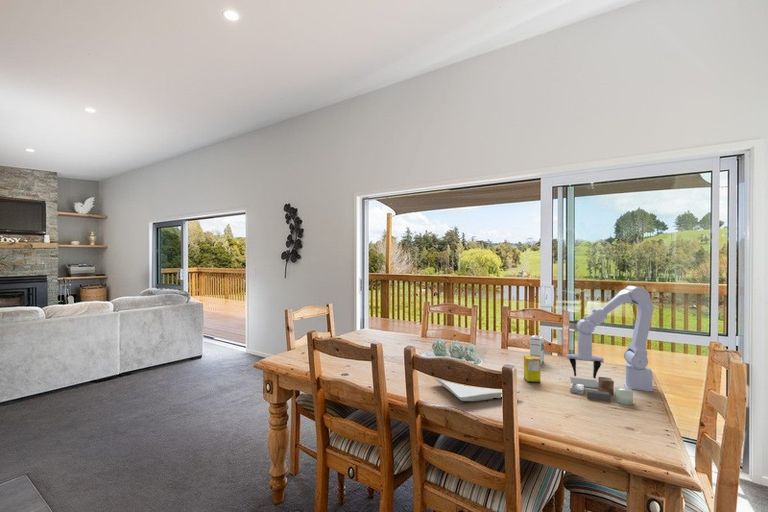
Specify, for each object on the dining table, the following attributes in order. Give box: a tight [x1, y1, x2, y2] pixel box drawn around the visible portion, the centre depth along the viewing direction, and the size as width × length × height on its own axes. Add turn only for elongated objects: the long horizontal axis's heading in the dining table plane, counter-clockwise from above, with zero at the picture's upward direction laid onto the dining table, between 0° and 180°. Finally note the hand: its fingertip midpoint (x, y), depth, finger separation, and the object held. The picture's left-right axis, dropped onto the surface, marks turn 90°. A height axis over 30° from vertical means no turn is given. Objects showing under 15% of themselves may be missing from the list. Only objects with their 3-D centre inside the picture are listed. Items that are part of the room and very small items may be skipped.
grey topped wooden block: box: [569, 382, 585, 395], centre depth 159 cm, size 7×5×2 cm
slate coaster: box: [569, 376, 598, 390], centre depth 168 cm, size 11×11×1 cm
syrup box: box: [529, 335, 545, 366], centre depth 199 cm, size 6×6×14 cm
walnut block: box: [597, 376, 615, 396], centre depth 157 cm, size 4×4×6 cm
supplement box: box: [523, 355, 542, 384], centre depth 172 cm, size 6×6×11 cm
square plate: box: [434, 378, 520, 402], centre depth 160 cm, size 27×27×4 cm
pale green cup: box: [614, 386, 634, 406], centre depth 148 cm, size 6×6×5 cm
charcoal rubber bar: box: [585, 388, 611, 402], centre depth 151 cm, size 8×3×3 cm, turn 67°
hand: (584, 376), depth 168 cm, fingers open, 7 cm apart
